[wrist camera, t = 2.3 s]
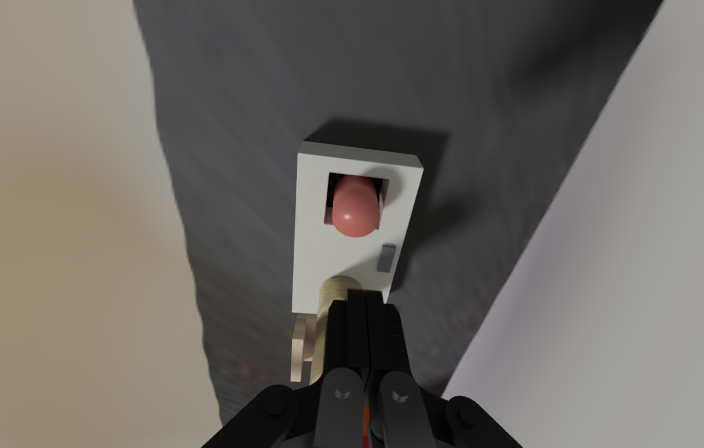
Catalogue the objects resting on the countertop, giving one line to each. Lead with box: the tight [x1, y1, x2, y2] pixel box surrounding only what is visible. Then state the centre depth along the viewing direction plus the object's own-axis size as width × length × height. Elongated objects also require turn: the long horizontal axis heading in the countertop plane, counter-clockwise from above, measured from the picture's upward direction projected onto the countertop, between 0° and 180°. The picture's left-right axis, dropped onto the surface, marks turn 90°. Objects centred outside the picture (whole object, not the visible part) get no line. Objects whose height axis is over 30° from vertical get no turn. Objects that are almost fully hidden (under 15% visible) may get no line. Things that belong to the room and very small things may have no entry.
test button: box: [332, 174, 380, 238], centre depth 20 cm, size 3×3×4 cm
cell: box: [310, 276, 362, 385], centre depth 21 cm, size 4×4×8 cm
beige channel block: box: [291, 313, 317, 382], centre depth 31 cm, size 7×8×3 cm
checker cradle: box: [292, 141, 424, 314], centre depth 23 cm, size 14×8×3 cm, turn 172°
